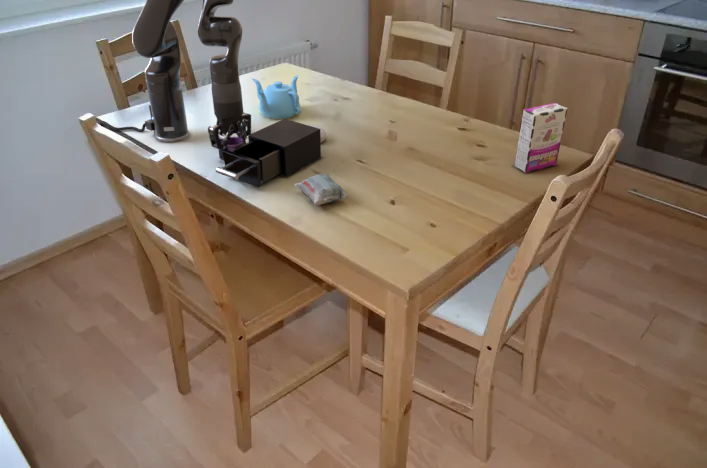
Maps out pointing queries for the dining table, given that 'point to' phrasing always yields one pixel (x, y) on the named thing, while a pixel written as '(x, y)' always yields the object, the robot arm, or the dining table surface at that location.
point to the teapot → (278, 99)
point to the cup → (234, 143)
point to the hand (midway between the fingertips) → (233, 155)
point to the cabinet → (292, 143)
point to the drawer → (253, 163)
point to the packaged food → (321, 189)
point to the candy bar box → (540, 137)
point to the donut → (322, 131)
